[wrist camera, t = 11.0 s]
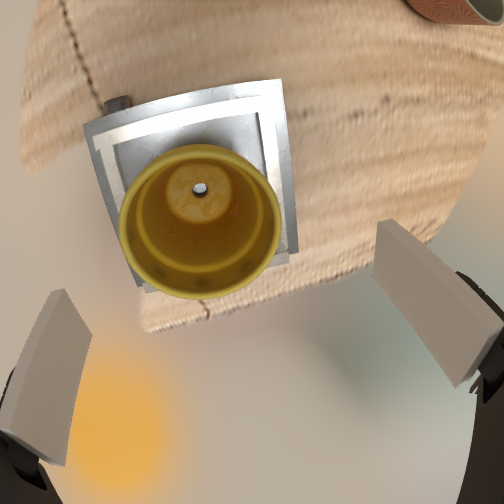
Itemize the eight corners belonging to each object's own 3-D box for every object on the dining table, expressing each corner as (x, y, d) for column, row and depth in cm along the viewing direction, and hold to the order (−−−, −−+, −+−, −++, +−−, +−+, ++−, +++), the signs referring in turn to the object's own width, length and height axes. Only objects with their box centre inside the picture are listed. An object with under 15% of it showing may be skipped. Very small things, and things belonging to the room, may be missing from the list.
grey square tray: (94, 108, 23) (63, 113, 17) (268, 68, 24) (290, 59, 18) (142, 267, 33) (133, 307, 27) (288, 235, 34) (309, 270, 28)
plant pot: (191, 109, 22) (185, 112, 14) (277, 179, 26) (315, 221, 18) (123, 199, 25) (90, 250, 16) (207, 256, 29) (214, 323, 21)
